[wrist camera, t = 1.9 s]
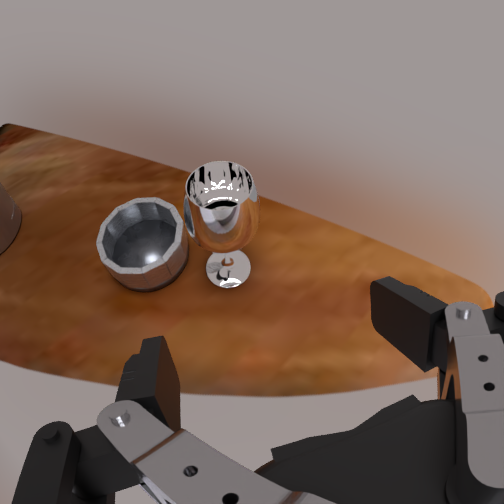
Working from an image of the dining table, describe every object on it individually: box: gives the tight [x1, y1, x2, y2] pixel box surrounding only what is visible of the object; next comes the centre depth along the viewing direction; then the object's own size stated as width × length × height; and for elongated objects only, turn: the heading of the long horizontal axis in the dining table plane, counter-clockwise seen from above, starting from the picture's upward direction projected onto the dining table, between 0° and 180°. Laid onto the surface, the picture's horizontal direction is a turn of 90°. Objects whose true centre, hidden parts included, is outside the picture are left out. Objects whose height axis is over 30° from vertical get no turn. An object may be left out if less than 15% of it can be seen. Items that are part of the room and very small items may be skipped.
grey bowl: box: [96, 197, 189, 292], centre depth 31 cm, size 9×9×4 cm
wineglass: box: [184, 161, 260, 288], centre depth 27 cm, size 6×6×12 cm
